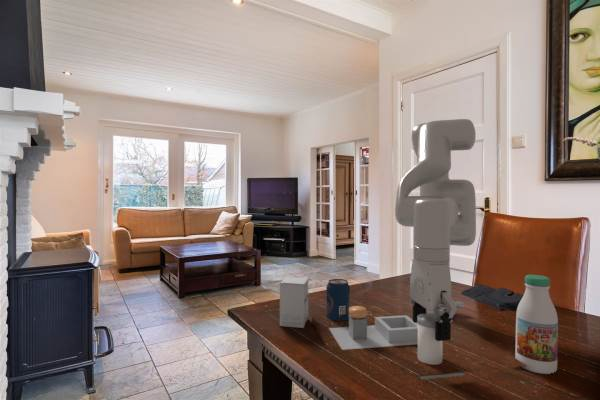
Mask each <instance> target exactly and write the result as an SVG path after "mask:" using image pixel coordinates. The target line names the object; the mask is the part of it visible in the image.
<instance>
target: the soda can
mask: <svg viewBox="0 0 600 400" xmlns="http://www.w3.org/2000/svg"><path fill="white" fill-rule="evenodd" d="M325 291H326V292H325V293H326V294H325V295H326V299H325V300H326V304H325V306H326V309H325V311H326V314H325V315H326V318H327V319H329V320H332V321H336V322H338V321H347V320H349V308H350V307H351V287H350V285H349V281H348V280H346V279H343V278H332V279H329V280H328V281H327V284H326V290H325Z"/></svg>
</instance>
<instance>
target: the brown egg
mask: <svg viewBox="0 0 600 400" xmlns="http://www.w3.org/2000/svg"><path fill="white" fill-rule="evenodd" d="M367 312H368V311H367V308H366V307H364V306H361V305H353V306H350V308H349V315H350V316H351V317H354V318H355V319H361V318H364V317H365V318H366V317H367Z"/></svg>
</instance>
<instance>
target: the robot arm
mask: <svg viewBox="0 0 600 400" xmlns="http://www.w3.org/2000/svg"><path fill="white" fill-rule="evenodd" d="M411 142H412V147H413V150H414V153H415V155H416V164H415V165H414V166H412V167H411V168H410V169H409V170H407V171H406V173H405V174H404V175H403V176H402V178H401V179H400V181H399V183H398V186H397V190H396V195H395V196H396V198H395V208H394V212H395V213H394V214H395V219H396V222H397V223H398V224H399V225H401V226H403V227H410V228H413V242H412V243H413V249H412V250H413V253H412V255H413V256H412V257H413V258H412V261H411V262H412V264H411V268H410V281H409V296H410V299H411V305H412V320H413V322H414V323H417V316H418V315H420V314H433V315H436V318H437V321H435V339H436V340H437V341H443V342H444V341H450V340H451V335H452V334H451V333H452V331H451V327H452V325H451V323H453V320H454V318H455V315H456V312H457V310H458V309H463V308H464V305H465V304H464V302H462V301H455V300H453V299H452V278H451V270H450V268H451V267H450V264H451V262H450V260H451V259H450V257H451V249H450V247H451V246H457V247H458V246H459V247H461V246H462V247H464V246H465V247H467V246H468V247H469V246H472V245H473V244H474V242H475V241H476V236H477V215H476V214H477V213H476V212H477V210H476V207H477V206H476V205H477V203H476V200H477V199H476V189H475V186H474V184H473V182H471V181H470V180H468V179H451V178H450V177H449V175H450V173H449V172H450V170H451V169H452V151H454V152H455V151H469V150H472V149H473V147H474V146H475V142H476V128H475V126H474V123H473V121H472V120H471V119H468V118H458V119H443V120H442V119H441V120H439V119H438V120H432V121H427V122H424V123H420V124H417V125H415V126H414V127H413V128H412V130H411ZM417 188H419V195H410V194H411V193H412V191H414V190H415V189H417ZM417 324H418V323H417Z"/></svg>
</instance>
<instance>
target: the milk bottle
mask: <svg viewBox="0 0 600 400" xmlns="http://www.w3.org/2000/svg"><path fill="white" fill-rule="evenodd" d="M524 286H525V291H524V293H523V295H524V296H523V297H522V299H521V301H520V303H519V305H518V308H517V310H516V315H515V317H516V318H515V342H514V343H515V349H514V350H515V353H514V355H515V356H514V357H515V360H518V362H520V363H522V364H523V365H520V367H521V368H523V369H524V370H527V371H529V372H531V373H535V374H540V375H552V374H551V373H553V374H555V373H556V372H557V370H558V348H559V347H558V345H559V344H558V343H559V342H558V341H559V324H558V323H559V321H558V320H559V319H558V318H559V317H558V313H557V310H556V308H555V305H554V303H553V301H552V299H551V297H550V293H549V289H551V279H550V278H549V277H547V276H545V275H538V274H527V275H525V276H524ZM554 372H555V373H554Z"/></svg>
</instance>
